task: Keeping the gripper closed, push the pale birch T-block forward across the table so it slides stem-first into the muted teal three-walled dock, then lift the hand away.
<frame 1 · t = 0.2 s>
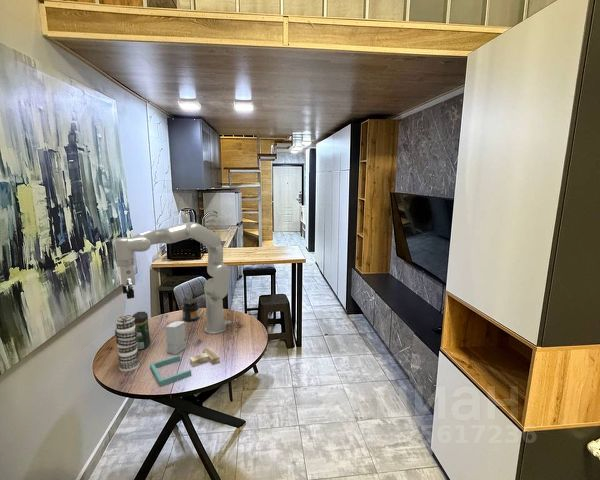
hand: (128, 295, 161), 31 cm above the table, fingers open, 9 cm apart
coffee jar: (141, 346, 173), on the table
tee block: (211, 358, 161), on the table
decorative candle: (129, 366, 154), on the table
dock: (172, 371, 149), on the table
supplement container: (191, 319, 209), on the table
skincare box: (177, 350, 169), on the table
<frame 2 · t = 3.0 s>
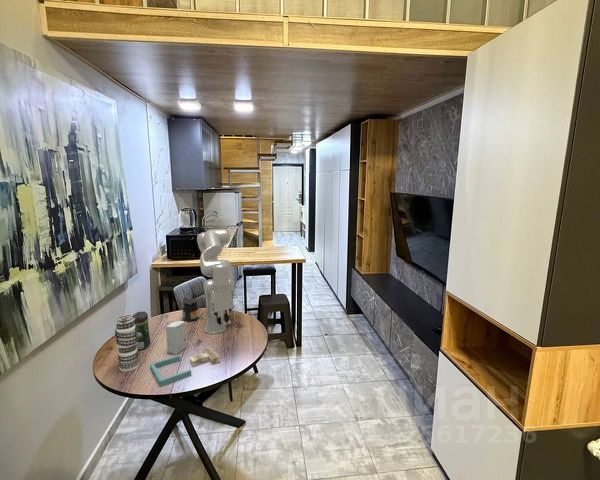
hand: (222, 322, 162), 17 cm above the table, fingers open, 3 cm apart
nothing on the table moved.
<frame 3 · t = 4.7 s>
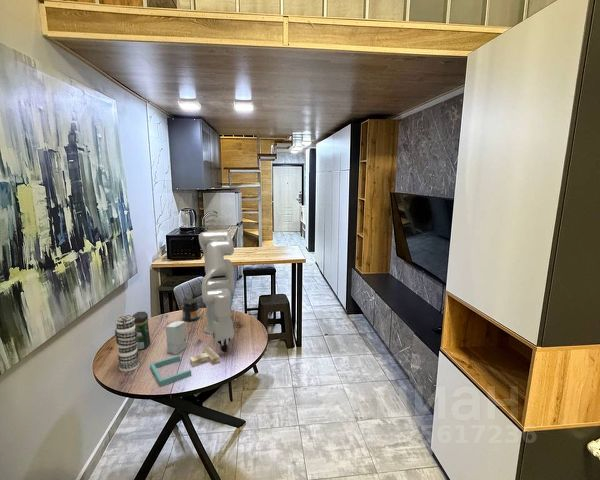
hand: (224, 351, 164), 2 cm above the table, fingers closed
nothing on the table moved.
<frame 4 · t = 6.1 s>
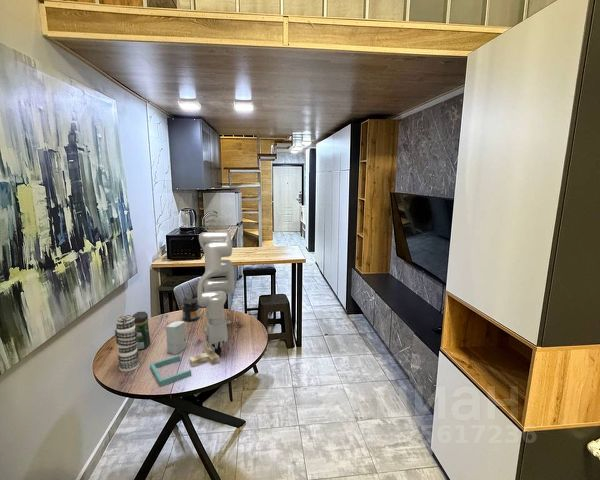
hand: (218, 354, 163), 1 cm above the table, fingers closed
tee block: (210, 358, 161), on the table, touching gripper
everything else where it was.
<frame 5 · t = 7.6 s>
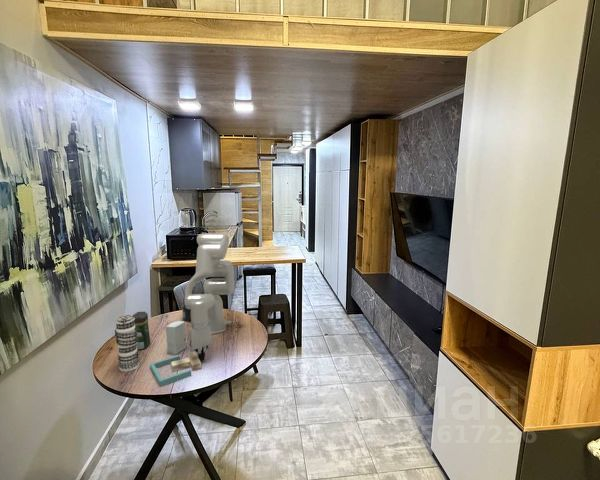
hand: (201, 359, 158), 1 cm above the table, fingers closed
tee block: (193, 364, 156), on the table, touching gripper
everything else where it was.
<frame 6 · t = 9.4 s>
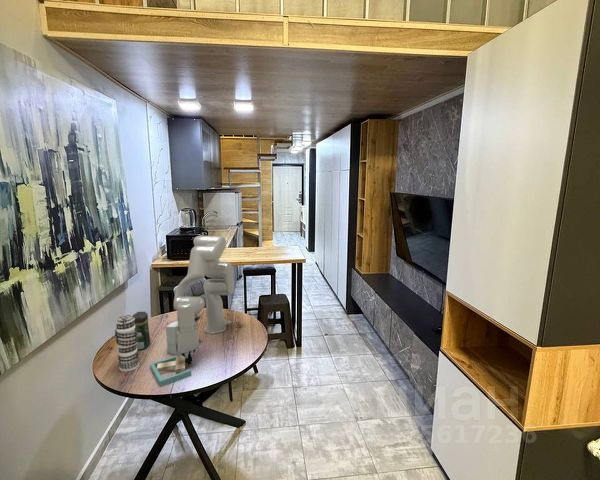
hand: (188, 363, 154), 1 cm above the table, fingers closed
tee block: (180, 367, 153), on the table, touching dock, gripper
everything else where it was.
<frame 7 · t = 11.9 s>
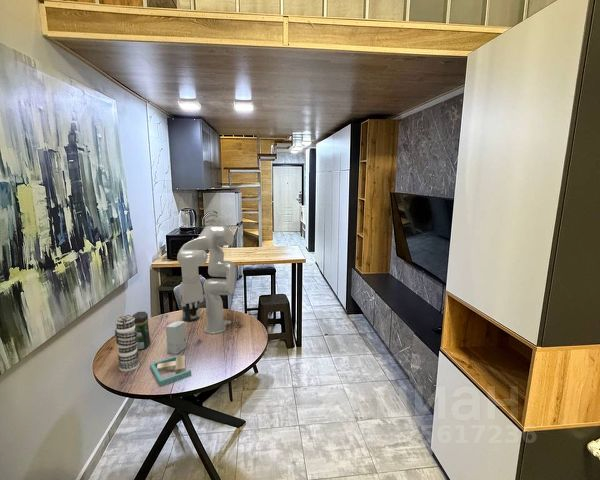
hand: (193, 314, 157), 23 cm above the table, fingers closed
tee block: (180, 367, 153), on the table
everything else where it was.
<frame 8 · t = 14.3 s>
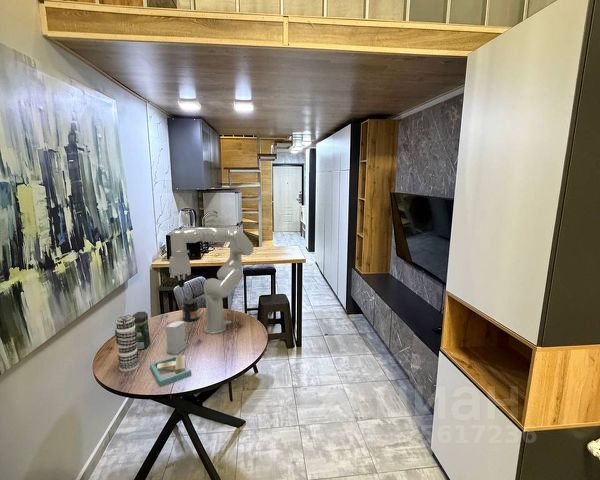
hand: (181, 286, 172), 32 cm above the table, fingers closed
nothing on the table moved.
at the end: tee block inside the target area on the dock (0.8 cm from its centre), point 0.0 cm above the dock's base; tee block tilted 0° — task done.
